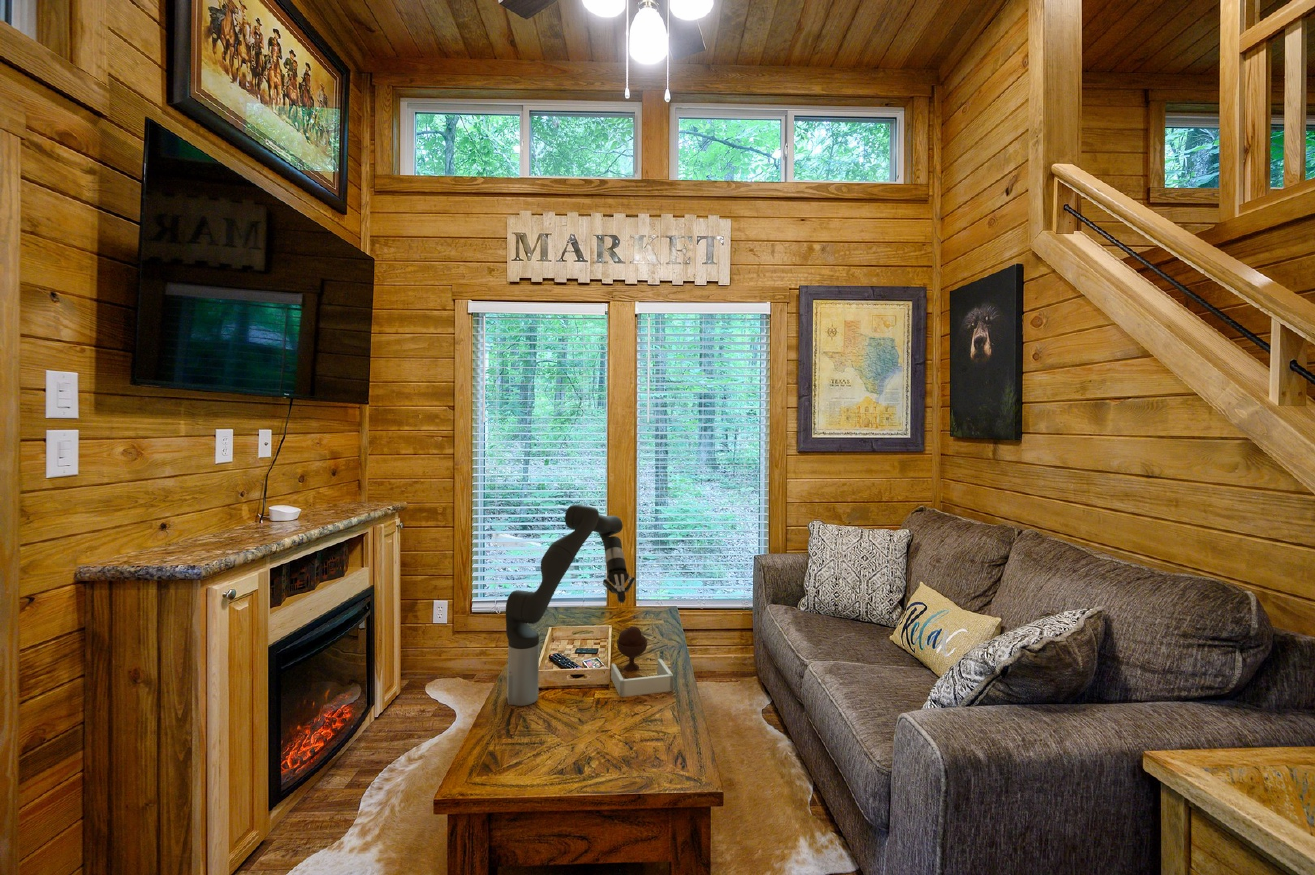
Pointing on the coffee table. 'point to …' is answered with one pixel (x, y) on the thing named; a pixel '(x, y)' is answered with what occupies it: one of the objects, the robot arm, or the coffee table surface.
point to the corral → (643, 682)
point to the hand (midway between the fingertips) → (622, 602)
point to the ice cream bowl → (631, 646)
